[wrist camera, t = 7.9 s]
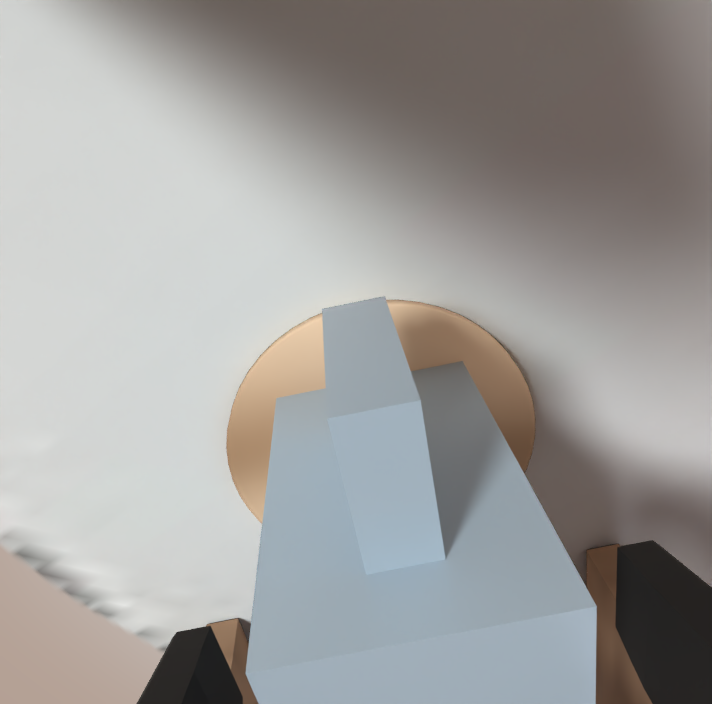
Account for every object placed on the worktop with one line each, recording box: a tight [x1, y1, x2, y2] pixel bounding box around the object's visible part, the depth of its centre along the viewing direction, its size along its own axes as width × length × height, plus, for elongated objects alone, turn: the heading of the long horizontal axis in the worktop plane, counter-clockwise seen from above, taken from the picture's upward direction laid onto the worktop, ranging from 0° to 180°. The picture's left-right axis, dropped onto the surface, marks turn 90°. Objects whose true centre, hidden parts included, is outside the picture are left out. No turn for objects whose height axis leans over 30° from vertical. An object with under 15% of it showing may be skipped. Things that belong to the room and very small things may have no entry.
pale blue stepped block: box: [245, 296, 597, 704], centre depth 11 cm, size 8×5×7 cm, turn 11°
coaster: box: [226, 300, 535, 523], centre depth 14 cm, size 8×8×1 cm
